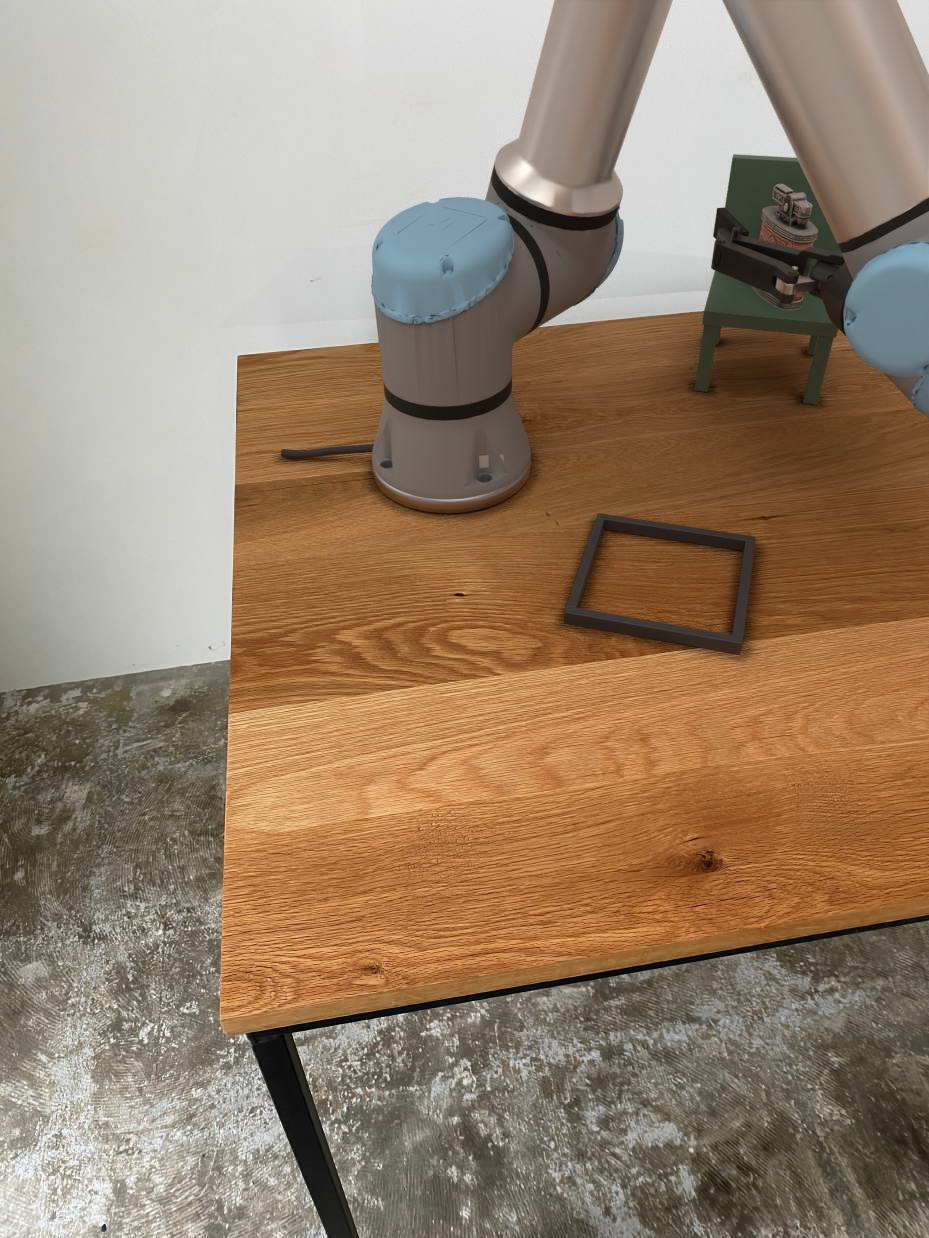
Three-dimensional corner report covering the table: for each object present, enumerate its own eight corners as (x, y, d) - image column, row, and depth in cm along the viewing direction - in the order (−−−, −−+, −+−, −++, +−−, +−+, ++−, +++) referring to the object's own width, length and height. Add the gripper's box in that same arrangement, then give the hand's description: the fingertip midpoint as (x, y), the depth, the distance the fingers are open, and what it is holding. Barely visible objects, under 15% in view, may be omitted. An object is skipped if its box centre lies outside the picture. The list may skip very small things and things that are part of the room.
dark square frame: (563, 623, 74) (564, 612, 73) (596, 523, 83) (597, 512, 83) (740, 655, 71) (742, 643, 70) (753, 547, 80) (756, 536, 79)
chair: (692, 391, 100) (720, 196, 87) (705, 337, 109) (733, 154, 96) (818, 406, 97) (869, 206, 83) (822, 349, 106) (867, 161, 93)
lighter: (809, 308, 94) (832, 204, 87) (778, 312, 93) (799, 208, 86) (771, 276, 99) (791, 177, 93) (742, 280, 99) (759, 181, 92)
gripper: (734, 363, 78) (658, 265, 93) (1014, 335, 80) (894, 243, 96) (749, 275, 73) (666, 186, 88) (1049, 247, 75) (916, 165, 91)
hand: (785, 215), depth 92 cm, fingers open, 13 cm apart
